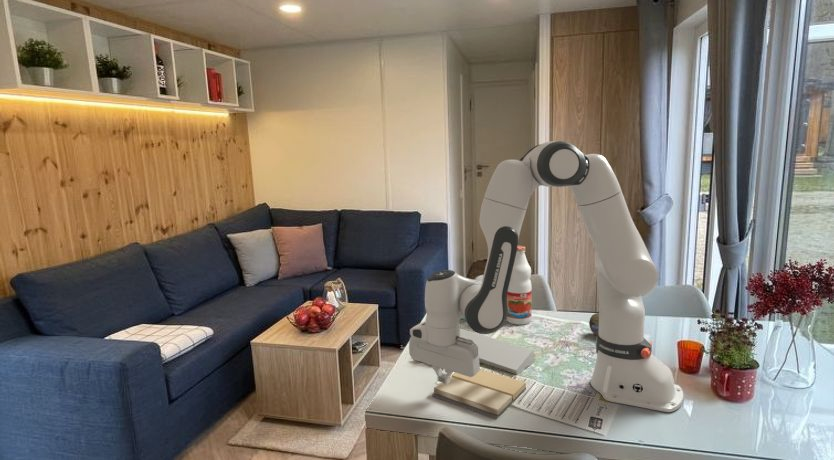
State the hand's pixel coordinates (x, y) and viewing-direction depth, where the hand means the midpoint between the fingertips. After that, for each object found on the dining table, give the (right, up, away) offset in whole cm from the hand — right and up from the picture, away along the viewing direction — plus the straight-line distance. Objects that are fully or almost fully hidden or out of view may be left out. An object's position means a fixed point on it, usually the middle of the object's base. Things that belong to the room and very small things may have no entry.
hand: (443, 381), depth 127 cm
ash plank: (+7, -4, -1) cm, 8 cm away
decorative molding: (+12, 0, +26) cm, 29 cm away
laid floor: (+10, -4, +2) cm, 11 cm away
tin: (+57, +4, +33) cm, 66 cm away
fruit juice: (+31, +6, +51) cm, 60 cm away
